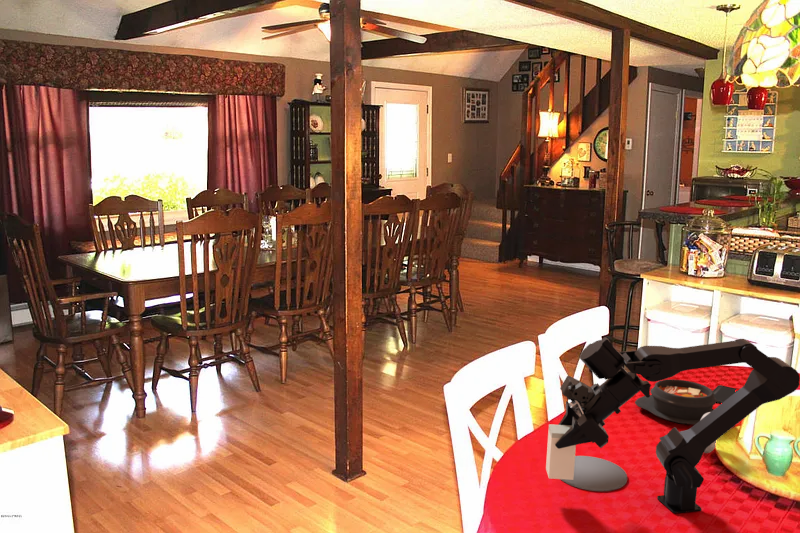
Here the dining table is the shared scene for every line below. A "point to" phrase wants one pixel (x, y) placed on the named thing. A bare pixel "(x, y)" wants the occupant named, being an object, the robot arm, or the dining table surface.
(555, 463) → the card box
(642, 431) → the dining table surface
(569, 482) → the mat
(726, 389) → the phone
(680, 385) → the casserole
